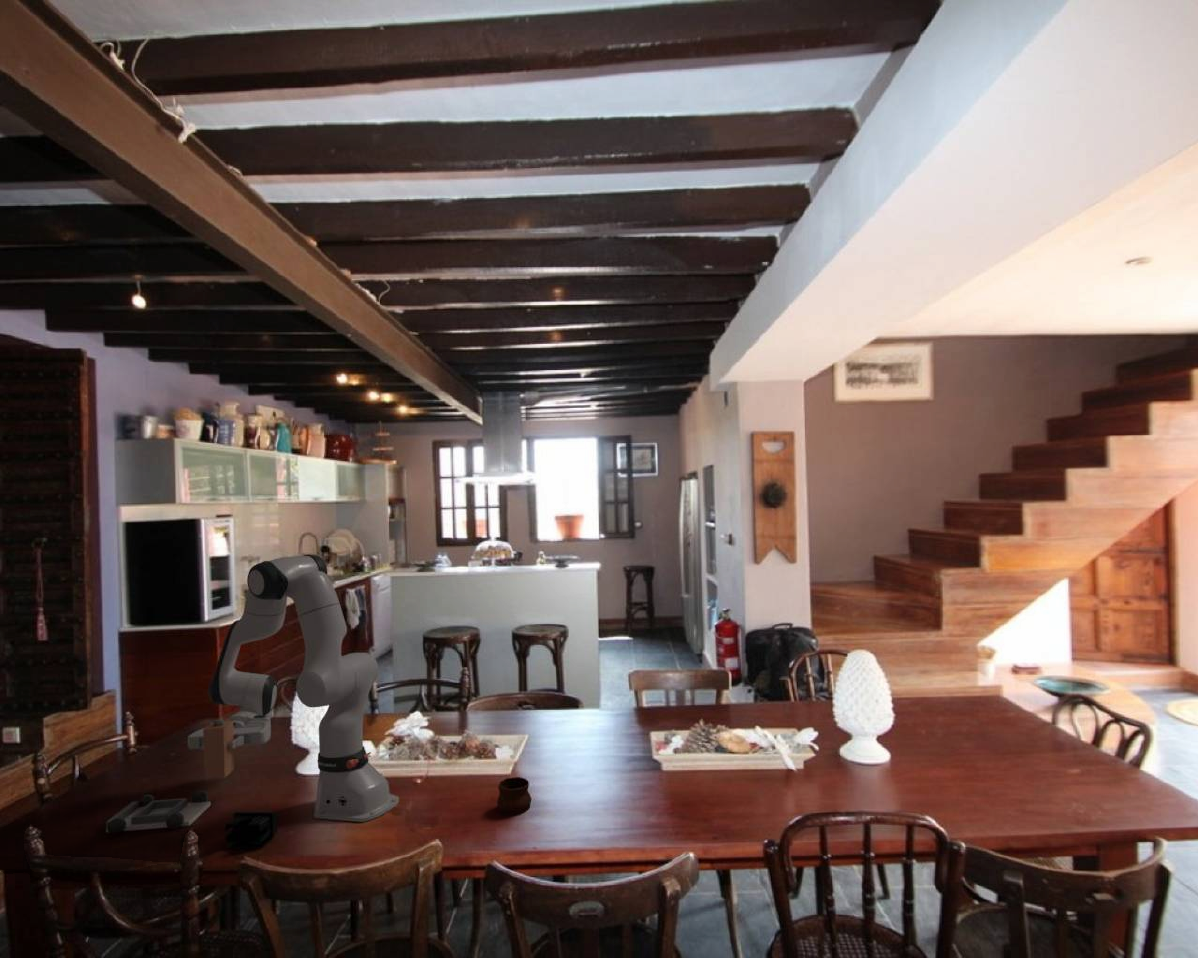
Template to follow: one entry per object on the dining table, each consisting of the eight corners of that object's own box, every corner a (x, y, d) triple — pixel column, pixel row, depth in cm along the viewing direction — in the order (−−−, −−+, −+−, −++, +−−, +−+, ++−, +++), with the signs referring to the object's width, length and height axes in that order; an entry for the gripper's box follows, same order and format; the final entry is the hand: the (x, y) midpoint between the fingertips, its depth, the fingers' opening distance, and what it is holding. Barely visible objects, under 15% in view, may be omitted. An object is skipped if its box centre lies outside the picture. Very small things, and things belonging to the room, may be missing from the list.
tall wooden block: (224, 777, 182) (223, 723, 182) (204, 779, 182) (203, 724, 182) (234, 768, 188) (232, 716, 188) (215, 770, 188) (213, 717, 188)
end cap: (279, 834, 171) (279, 807, 171) (263, 849, 164) (262, 820, 164) (241, 834, 172) (240, 807, 172) (223, 849, 165) (222, 820, 165)
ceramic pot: (472, 802, 185) (472, 776, 185) (535, 789, 193) (535, 764, 193) (490, 833, 169) (490, 803, 169) (558, 817, 176) (558, 789, 176)
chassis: (213, 802, 192) (212, 789, 192) (186, 828, 176) (185, 814, 177) (136, 808, 190) (136, 795, 190) (102, 835, 174) (101, 820, 174)
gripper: (200, 720, 197) (175, 737, 183) (275, 715, 199) (256, 731, 185) (201, 743, 197) (176, 761, 183) (276, 737, 199) (257, 755, 185)
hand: (217, 746), depth 184 cm, fingers closed on tall wooden block, 5 cm apart
